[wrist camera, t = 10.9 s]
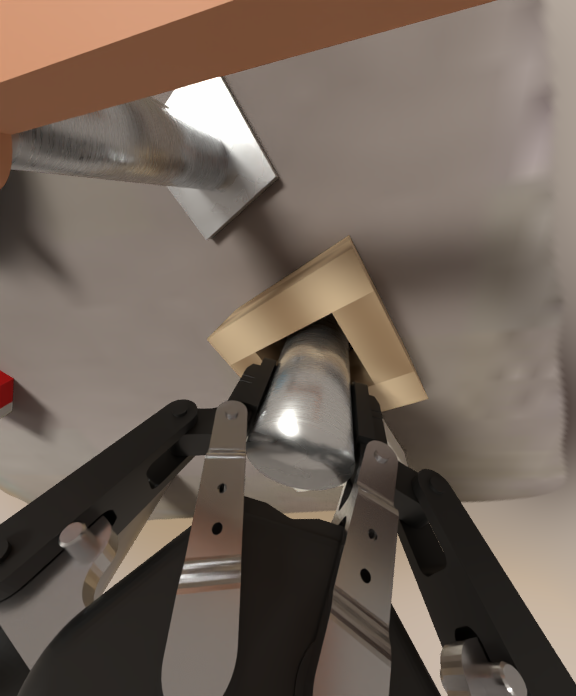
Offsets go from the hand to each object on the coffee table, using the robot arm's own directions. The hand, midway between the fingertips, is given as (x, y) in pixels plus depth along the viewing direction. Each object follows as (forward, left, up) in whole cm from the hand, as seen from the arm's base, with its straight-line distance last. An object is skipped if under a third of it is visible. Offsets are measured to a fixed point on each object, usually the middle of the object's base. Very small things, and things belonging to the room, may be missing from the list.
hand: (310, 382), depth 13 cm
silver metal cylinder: (0, 0, -6) cm, 6 cm away
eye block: (0, 0, -6) cm, 6 cm away
